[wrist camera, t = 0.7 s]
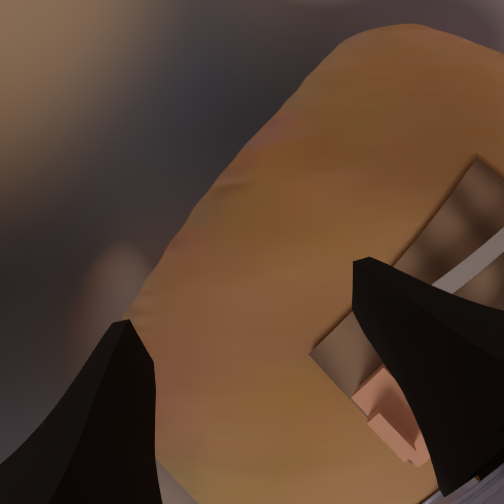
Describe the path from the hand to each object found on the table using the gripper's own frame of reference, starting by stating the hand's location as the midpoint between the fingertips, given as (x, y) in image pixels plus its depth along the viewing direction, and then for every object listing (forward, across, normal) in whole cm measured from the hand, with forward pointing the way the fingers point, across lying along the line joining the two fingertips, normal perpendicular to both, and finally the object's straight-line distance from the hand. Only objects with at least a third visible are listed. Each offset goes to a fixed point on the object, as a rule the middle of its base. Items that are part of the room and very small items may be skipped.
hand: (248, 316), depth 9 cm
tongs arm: (+7, -17, +9) cm, 21 cm away
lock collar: (+2, -10, +16) cm, 19 cm away
